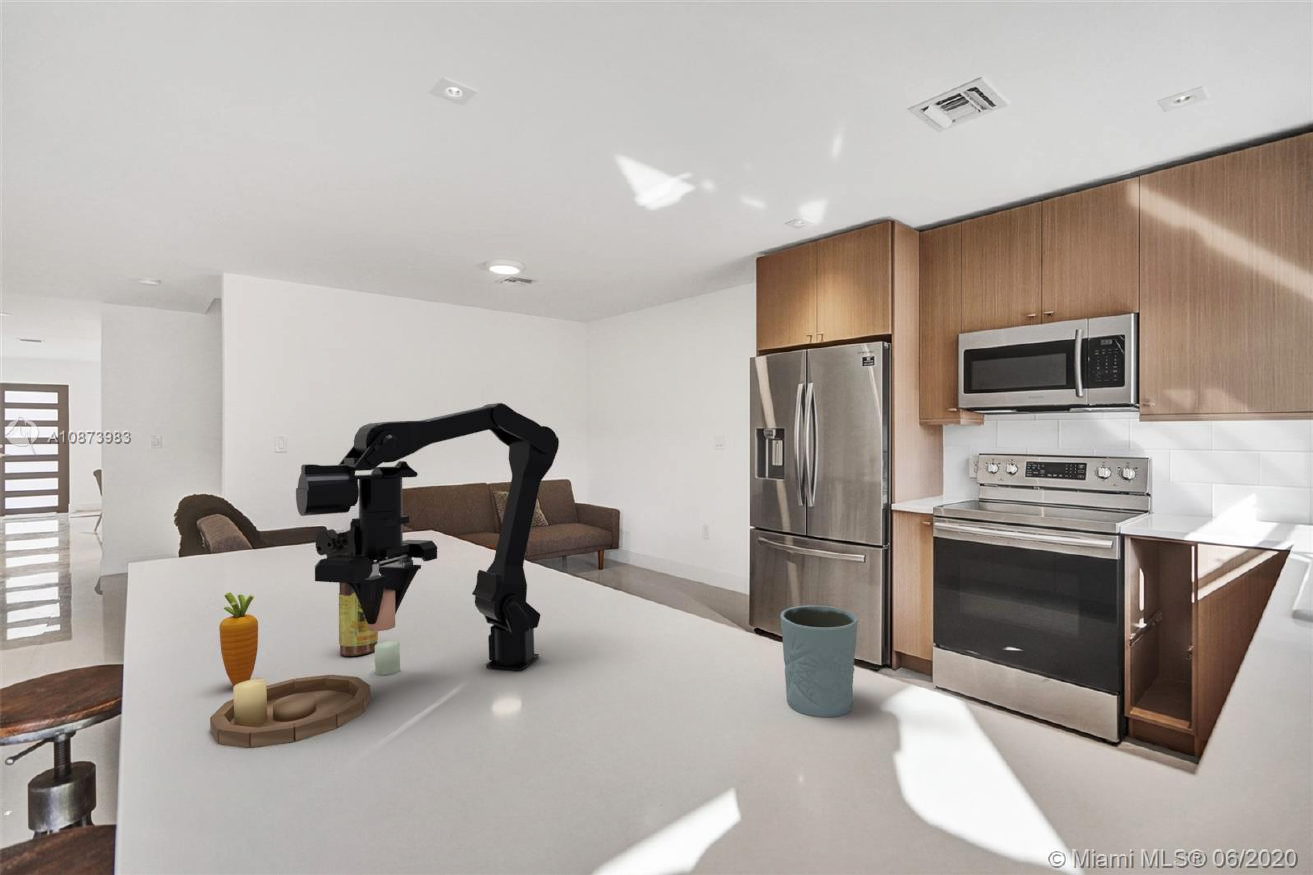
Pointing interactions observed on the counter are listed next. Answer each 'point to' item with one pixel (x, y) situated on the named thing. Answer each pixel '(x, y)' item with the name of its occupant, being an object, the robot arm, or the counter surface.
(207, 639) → the counter surface
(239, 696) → the bead mustard
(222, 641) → the carrot
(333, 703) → the groove tray
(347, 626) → the sauce bottle
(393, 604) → the bead coral
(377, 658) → the bead sage
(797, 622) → the teal embossed cup
